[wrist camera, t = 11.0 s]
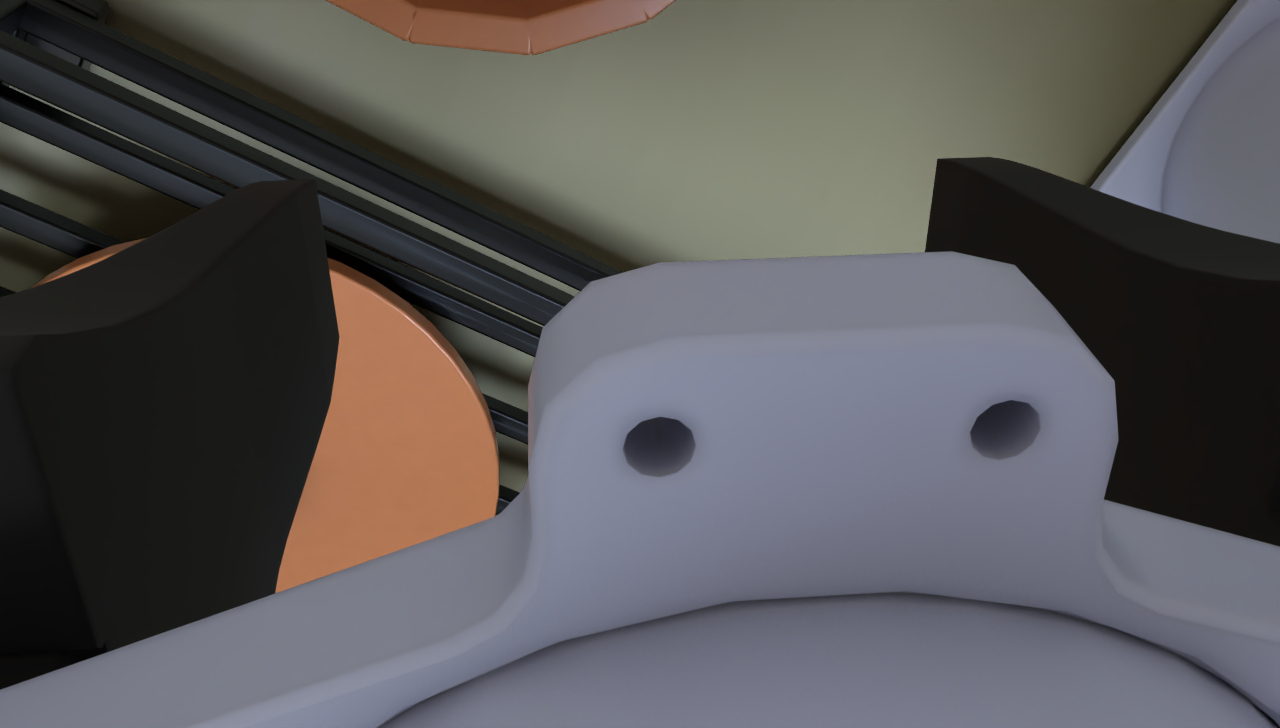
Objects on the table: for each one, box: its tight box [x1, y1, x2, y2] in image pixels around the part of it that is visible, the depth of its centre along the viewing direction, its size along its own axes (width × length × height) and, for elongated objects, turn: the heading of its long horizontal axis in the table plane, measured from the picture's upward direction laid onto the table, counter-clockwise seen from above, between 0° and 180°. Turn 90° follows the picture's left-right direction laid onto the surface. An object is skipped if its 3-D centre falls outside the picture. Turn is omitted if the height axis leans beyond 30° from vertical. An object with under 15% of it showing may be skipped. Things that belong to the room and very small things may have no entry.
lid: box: [31, 238, 499, 593], centre depth 23 cm, size 11×11×5 cm
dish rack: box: [0, 0, 624, 515], centre depth 25 cm, size 21×14×6 cm, turn 60°
